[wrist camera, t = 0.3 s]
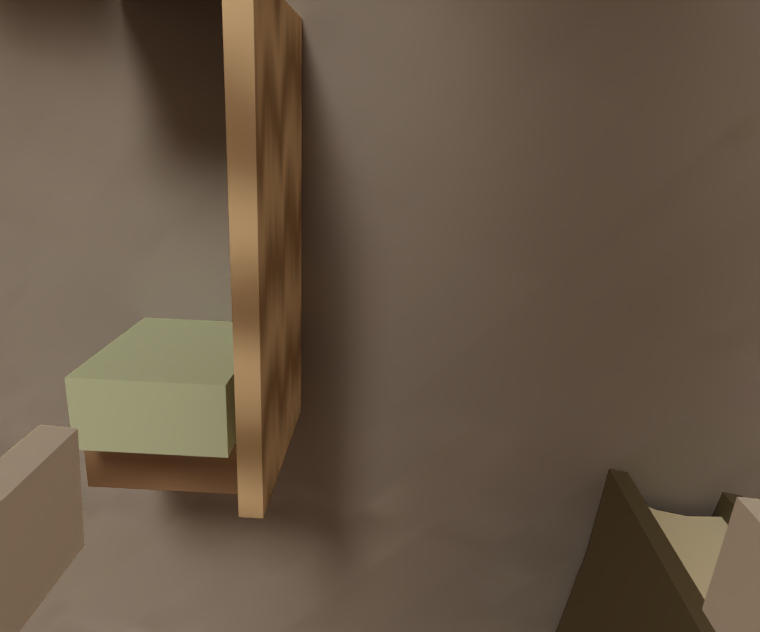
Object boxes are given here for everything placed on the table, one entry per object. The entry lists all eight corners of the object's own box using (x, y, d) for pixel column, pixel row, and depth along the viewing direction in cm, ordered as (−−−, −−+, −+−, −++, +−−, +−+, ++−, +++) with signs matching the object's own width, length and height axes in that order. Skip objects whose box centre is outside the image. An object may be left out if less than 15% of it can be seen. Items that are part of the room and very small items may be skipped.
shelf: (111, 11, 35) (-30, -44, 23) (301, 18, 35) (252, -34, 23) (144, 421, 42) (49, 530, 31) (301, 429, 42) (263, 542, 31)
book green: (144, 317, 40) (64, 377, 31) (267, 323, 40) (225, 385, 31) (148, 374, 41) (73, 449, 32) (268, 380, 41) (228, 457, 32)
